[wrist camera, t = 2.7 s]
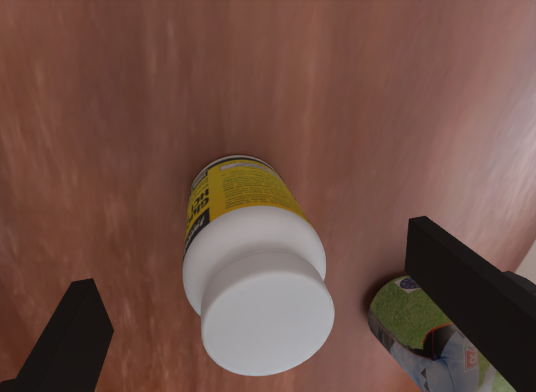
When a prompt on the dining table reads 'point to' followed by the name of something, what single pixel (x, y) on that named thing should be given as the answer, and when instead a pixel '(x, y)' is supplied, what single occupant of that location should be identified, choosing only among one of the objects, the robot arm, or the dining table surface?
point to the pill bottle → (254, 269)
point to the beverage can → (429, 342)
